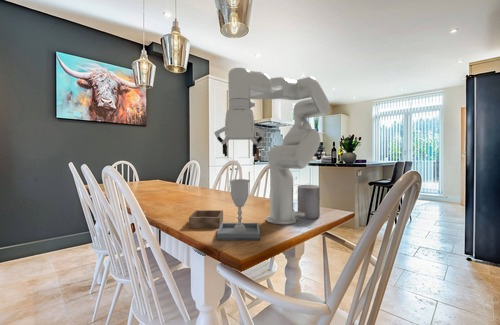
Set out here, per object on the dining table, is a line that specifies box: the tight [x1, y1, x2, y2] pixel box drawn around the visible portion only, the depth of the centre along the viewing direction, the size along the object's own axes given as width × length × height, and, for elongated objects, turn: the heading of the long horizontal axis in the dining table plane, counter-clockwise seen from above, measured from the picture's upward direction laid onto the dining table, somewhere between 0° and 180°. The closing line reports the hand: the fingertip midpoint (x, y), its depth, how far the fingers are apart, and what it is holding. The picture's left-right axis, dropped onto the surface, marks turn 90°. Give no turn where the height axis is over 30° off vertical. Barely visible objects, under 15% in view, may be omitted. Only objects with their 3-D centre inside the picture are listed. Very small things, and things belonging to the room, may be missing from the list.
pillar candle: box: [297, 183, 321, 220], centre depth 106 cm, size 10×10×15 cm
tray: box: [216, 222, 261, 241], centre depth 83 cm, size 14×12×2 cm
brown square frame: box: [188, 209, 224, 229], centre depth 95 cm, size 12×12×4 cm
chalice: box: [228, 178, 251, 233], centre depth 82 cm, size 7×7×18 cm
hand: (239, 156), depth 82 cm, fingers open, 9 cm apart
